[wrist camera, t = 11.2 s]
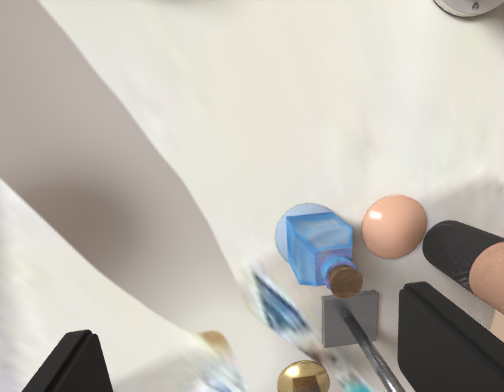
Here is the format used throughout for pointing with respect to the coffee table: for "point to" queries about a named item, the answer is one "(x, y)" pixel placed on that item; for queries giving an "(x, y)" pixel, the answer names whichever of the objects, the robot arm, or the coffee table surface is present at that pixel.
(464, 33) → the coffee table surface
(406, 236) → the peach glossy round dome
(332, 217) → the perfume bottle
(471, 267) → the travel mug
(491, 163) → the coffee table surface
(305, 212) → the pale blue dome
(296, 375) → the balance
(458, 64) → the coffee table surface
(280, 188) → the coffee table surface
